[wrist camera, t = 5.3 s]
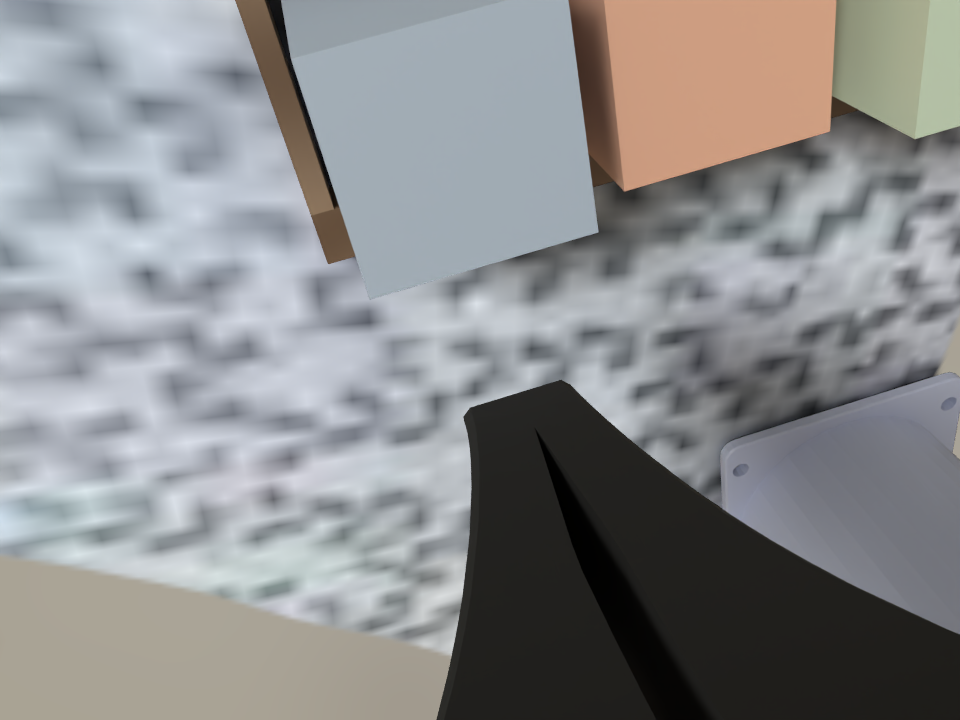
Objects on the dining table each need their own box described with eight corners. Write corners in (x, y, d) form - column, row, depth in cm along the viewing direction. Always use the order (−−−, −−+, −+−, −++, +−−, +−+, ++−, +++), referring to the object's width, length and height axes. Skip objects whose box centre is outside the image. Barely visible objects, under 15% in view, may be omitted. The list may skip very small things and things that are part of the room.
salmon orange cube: (720, 67, 19) (829, 132, 16) (552, 115, 19) (624, 191, 15) (715, -133, 17) (841, -112, 13) (522, -82, 16) (599, -45, 13)
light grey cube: (527, 143, 18) (598, 232, 14) (344, 196, 18) (369, 299, 14) (492, -61, 16) (566, -16, 12) (280, -5, 15) (291, 58, 12)
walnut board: (937, 63, 21) (971, 77, 20) (324, 240, 20) (328, 264, 19) (980, -294, 16) (1027, -299, 16) (207, -95, 15) (204, -87, 14)
